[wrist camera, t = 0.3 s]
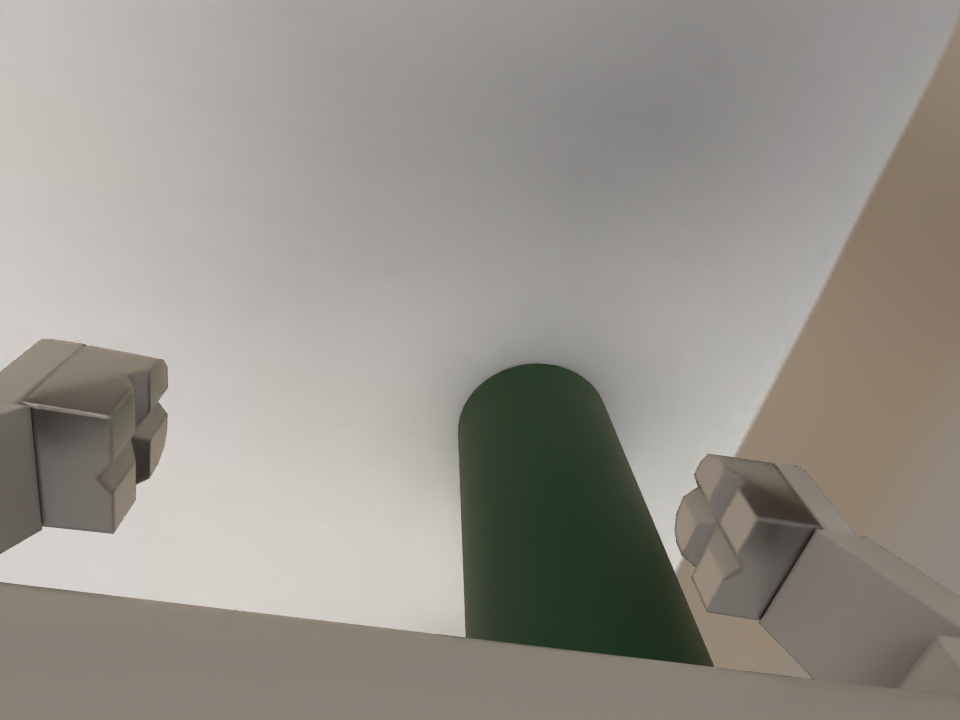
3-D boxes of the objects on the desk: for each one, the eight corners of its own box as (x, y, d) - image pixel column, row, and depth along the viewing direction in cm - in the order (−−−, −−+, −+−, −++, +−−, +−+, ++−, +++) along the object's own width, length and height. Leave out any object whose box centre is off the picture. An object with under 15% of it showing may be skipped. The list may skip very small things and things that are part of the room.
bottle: (439, 386, 27) (432, 1106, 9) (591, 345, 26) (901, 1023, 8) (480, 503, 30) (536, 1219, 12) (618, 468, 29) (889, 1162, 11)
